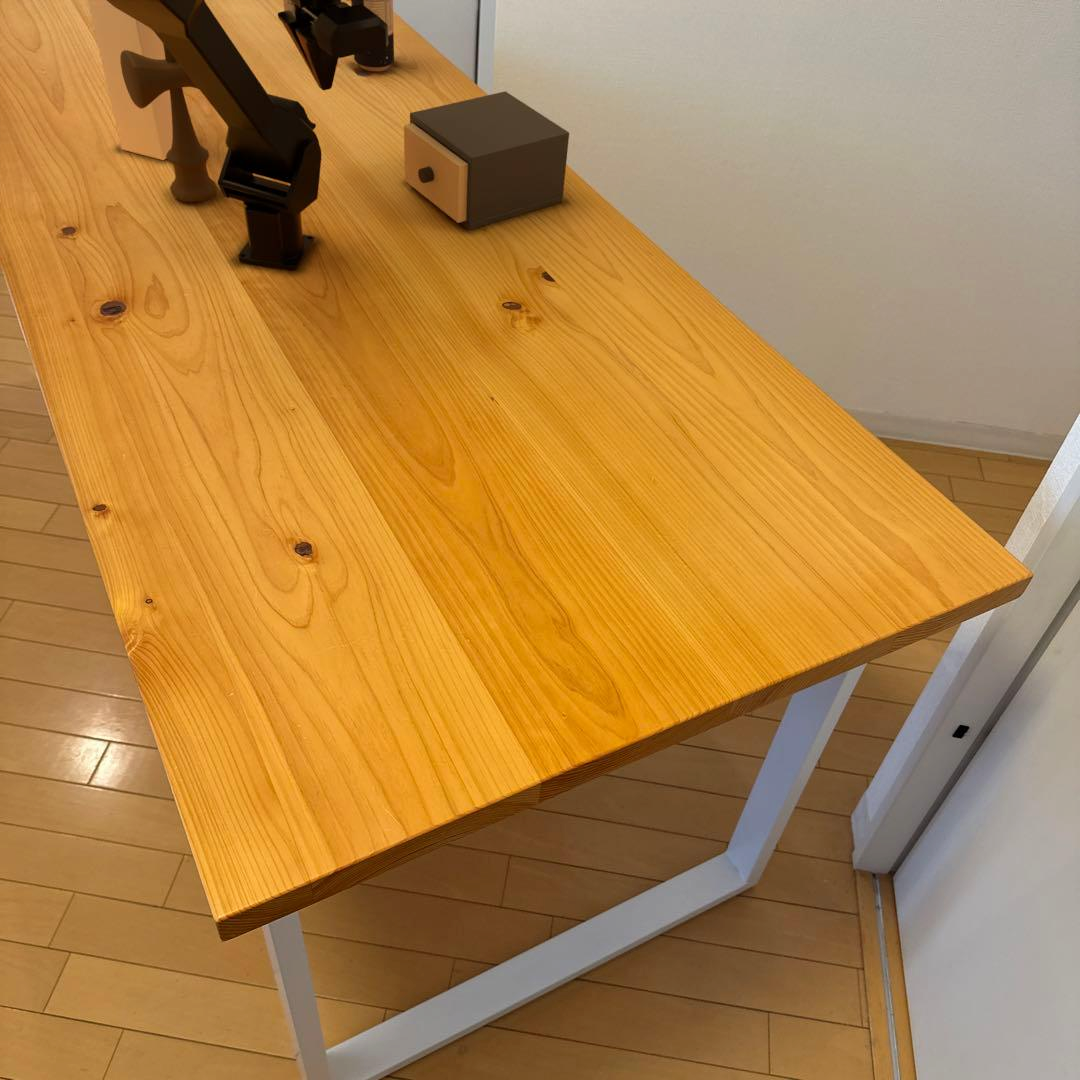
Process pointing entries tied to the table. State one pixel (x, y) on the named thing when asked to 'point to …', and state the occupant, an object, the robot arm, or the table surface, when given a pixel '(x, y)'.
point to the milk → (134, 125)
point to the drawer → (436, 172)
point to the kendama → (186, 152)
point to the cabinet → (501, 154)
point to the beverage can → (382, 58)
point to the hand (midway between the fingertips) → (325, 88)
